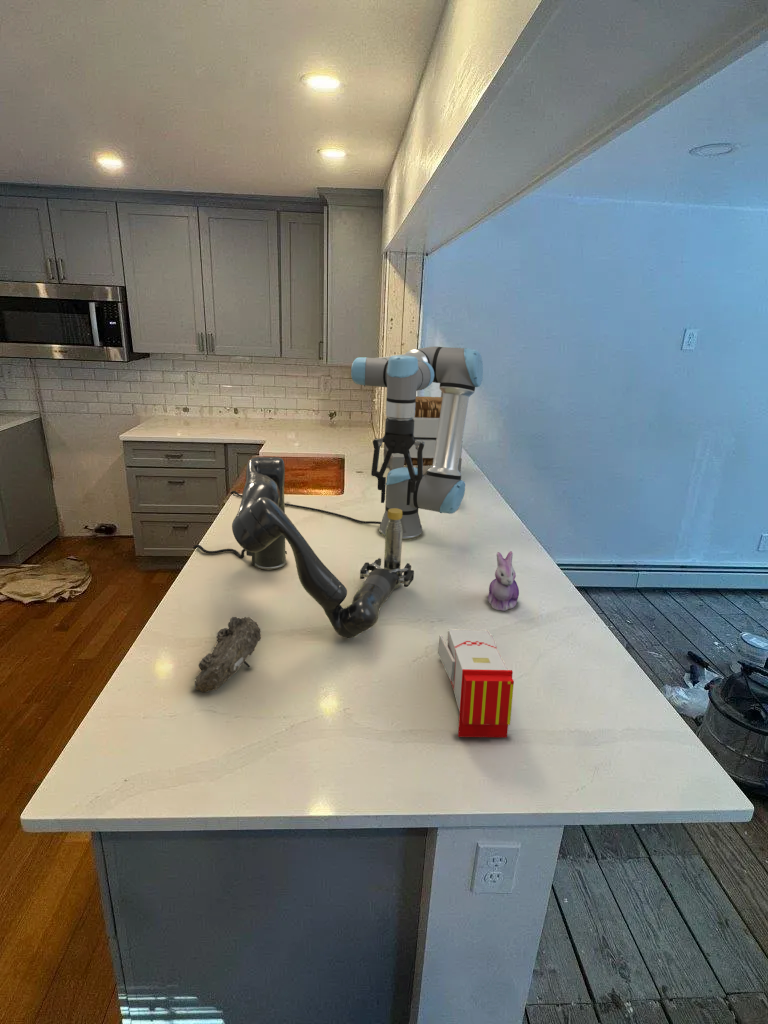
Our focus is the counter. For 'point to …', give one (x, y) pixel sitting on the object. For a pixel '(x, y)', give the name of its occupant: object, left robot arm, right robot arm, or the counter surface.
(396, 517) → the cap
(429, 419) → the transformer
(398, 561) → the bottle
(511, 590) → the figurine
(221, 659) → the fossil
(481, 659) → the toy
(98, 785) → the counter surface
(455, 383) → the right robot arm
